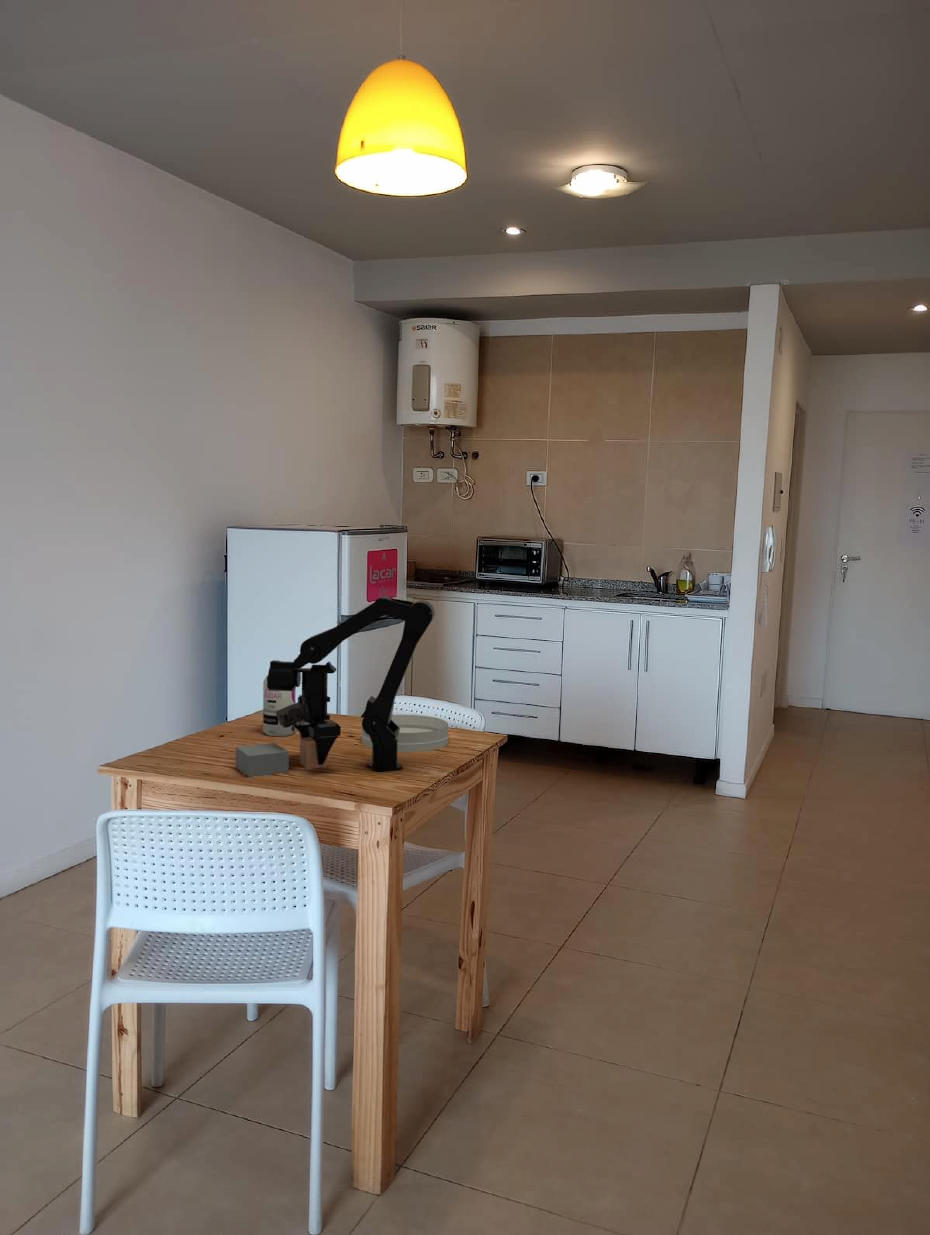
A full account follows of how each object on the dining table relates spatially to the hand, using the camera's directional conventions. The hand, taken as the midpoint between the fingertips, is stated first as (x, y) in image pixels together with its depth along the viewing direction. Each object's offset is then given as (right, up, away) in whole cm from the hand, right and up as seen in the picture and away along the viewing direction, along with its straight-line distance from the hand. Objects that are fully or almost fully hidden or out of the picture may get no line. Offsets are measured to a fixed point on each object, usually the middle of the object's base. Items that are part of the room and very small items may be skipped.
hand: (314, 759), depth 222 cm
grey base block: (-11, -2, -5) cm, 12 cm away
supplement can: (-14, +2, +31) cm, 34 cm away
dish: (+19, 0, +26) cm, 32 cm away
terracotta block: (0, -1, 0) cm, 1 cm away
